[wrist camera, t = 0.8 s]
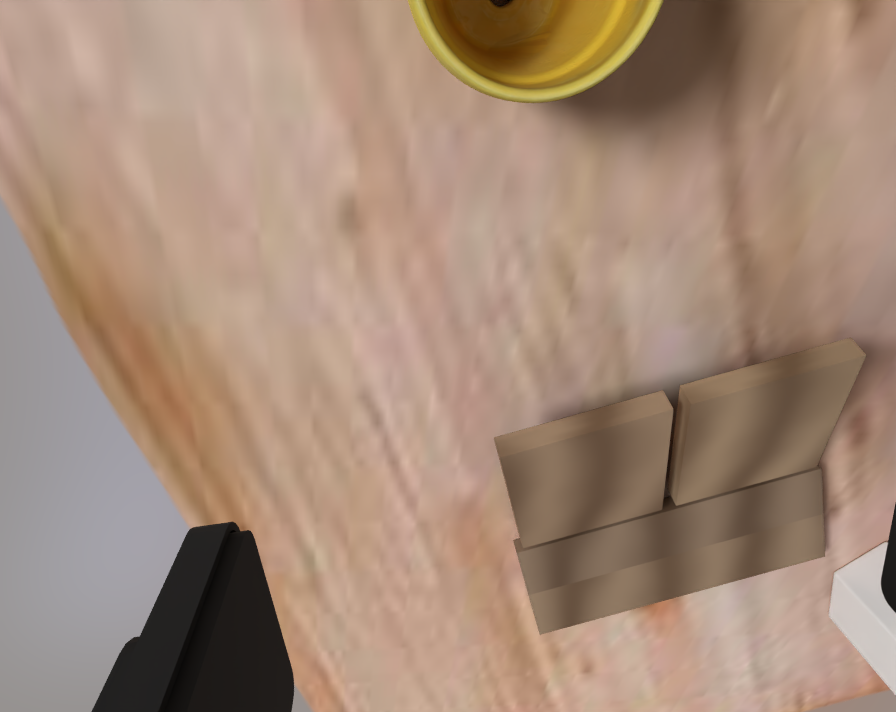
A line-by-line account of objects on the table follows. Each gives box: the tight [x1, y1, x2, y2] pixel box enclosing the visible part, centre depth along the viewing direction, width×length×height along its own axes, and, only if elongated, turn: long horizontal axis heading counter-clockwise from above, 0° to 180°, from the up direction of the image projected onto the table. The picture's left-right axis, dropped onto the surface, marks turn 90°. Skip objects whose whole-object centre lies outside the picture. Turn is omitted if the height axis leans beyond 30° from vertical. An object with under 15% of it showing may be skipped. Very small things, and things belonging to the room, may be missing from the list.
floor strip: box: [513, 465, 825, 635], centre depth 47 cm, size 22×8×1 cm, turn 105°
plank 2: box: [668, 338, 866, 506], centre depth 40 cm, size 10×12×1 cm
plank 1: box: [494, 390, 673, 548], centre depth 41 cm, size 10×12×1 cm
